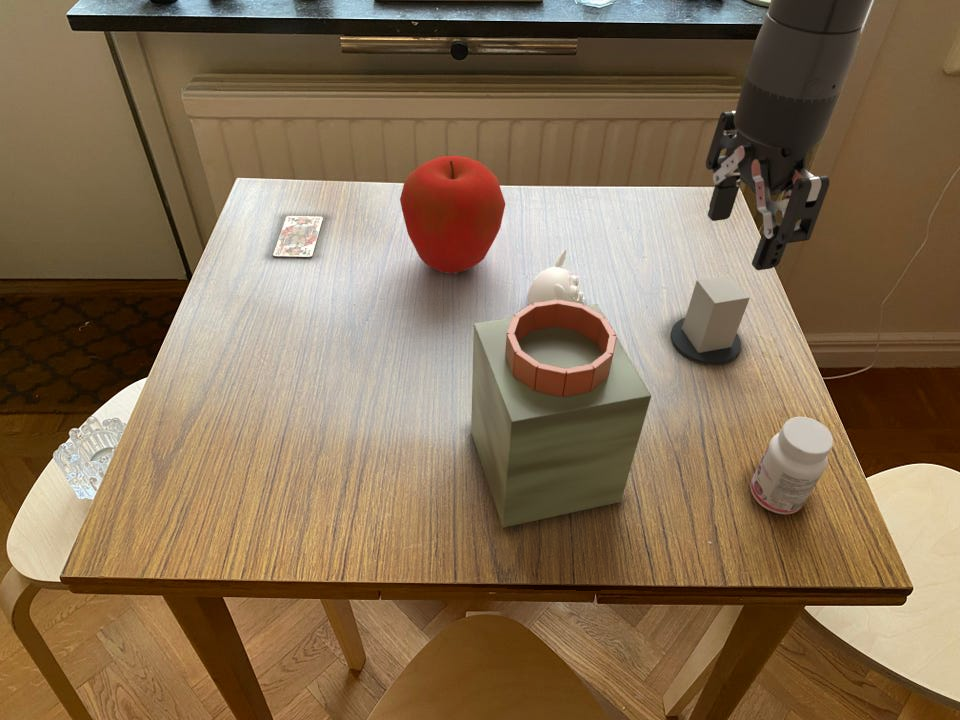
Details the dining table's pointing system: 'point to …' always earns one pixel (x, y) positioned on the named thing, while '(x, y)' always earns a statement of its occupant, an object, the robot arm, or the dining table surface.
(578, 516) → the dining table surface
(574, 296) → the figurine
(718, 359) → the coaster
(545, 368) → the segmented terracotta ring
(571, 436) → the stand
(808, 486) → the pill bottle
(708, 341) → the block
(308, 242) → the playing card
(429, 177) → the apple
